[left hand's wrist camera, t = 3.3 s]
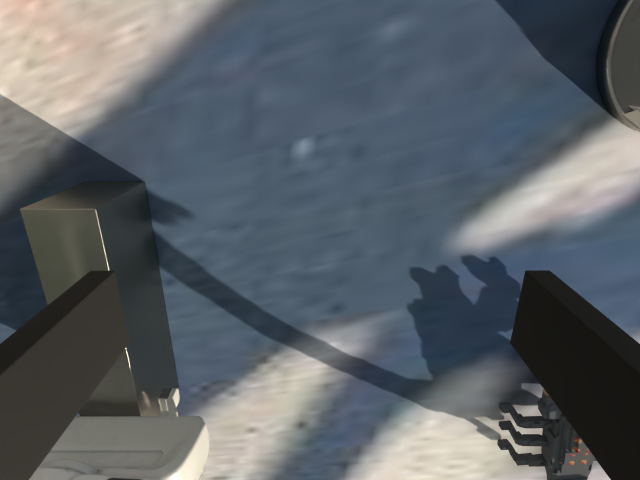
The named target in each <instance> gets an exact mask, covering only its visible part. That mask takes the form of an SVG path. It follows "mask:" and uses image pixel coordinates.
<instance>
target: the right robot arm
mask: <svg viewBox="0 0 640 480" xmlns="http://www.w3.org/2000/svg"><path fill="white" fill-rule="evenodd" d="M158 400H159V404H160V410H161V412H162V414H161V416H76V417H75V418H74V419H73V421H72V422H71V423H70V425H69V426H68V427H67V429H66V430H65V431H64V433H63V434H62V436H61V437H60V438H59V440H58V441H57V442H56V444H55V445H54V446H53V448H52V449H51V451H50V452H49V453H48V455H47V456H46V457H45V459H44V460H43V461H42V463H41V464H40V465H39V467H38V468H37V470H36V471H35V472H34V474H33V475H32V476H31V478H30V479H29V480H199V479H200V476H201V473H202V471H203V468H204V465H205V462H206V459H207V456H208V452H209V445H210V443H209V433H208V428H207V425H206V423H205V422H204V420H203V419H202V418H201V417H199V416H178V413H177V409H176V407H177V405H178V403H179V391H178V388H164V389H163V390H162V393H161V394H160V396H159V398H158Z"/></svg>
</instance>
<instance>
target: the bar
mask: <svg viewBox="0 0 640 480" xmlns="http://www.w3.org/2000/svg"><path fill="white" fill-rule="evenodd" d="M20 212H21V215H22V219H23V222H24V225H25V229H26V232H27V236H28V239H29V243H30V246H31V250H32V253H33V256H34V260H35V263H36V267H37V270H38V274H39V277H40V280H41V284H42V287H43V291H44V294H45V298H46V301H47V305H49V304H50V303H51V302H53V301H54V300H55V299H56V298H58V297H59V296H60V295H61V294H62V293H64V292H65V291H66V290H67V289H69V288H70V287H71V286H72V285H74V284H75V283H76V282H77V281H78V280H80V279H81V278H82V277H83V276H85V275H86V274H87V273H88V272H90V271H115V275H116V280H117V285H118V289H119V294H120V299H121V304H122V308H123V313H124V318H125V323H126V327H127V332H128V337H129V341H130V343H129V344H128V346H127V347H126V349H125V350H124V351H123V353H122V354H121V355H120V357H119V358H118V359H117V361H116V362H115V363H114V365H113V366H112V368H111V369H110V370H109V372H108V373H107V374H106V376H105V377H104V378H103V380H102V381H101V383H100V384H99V385H98V387H97V388H96V389H95V391H94V392H93V393H92V395H91V396H90V397H89V399H88V400H87V402H86V403H85V404H84V406H83V407H82V408H81V410H80V411H79V415H80V416H161V414H162V412H161V410H160V404H159V400H158V398H159V396H160V394H161V393H162V390H163V389H164V388H178V387H179V385H178V379H177V373H176V367H175V361H174V355H173V349H172V343H171V337H170V331H169V325H168V319H167V313H166V307H165V301H164V295H163V289H162V283H161V277H160V270H159V264H158V258H157V252H156V246H155V240H154V234H153V228H152V222H151V216H150V210H149V204H148V198H147V192H146V186H145V182H84V183H81V184H79V185H77V186H74V187H72V188H69V189H67V190H65V191H62V192H60V193H57V194H55V195H53V196H50V197H48V198H45V199H43V200H41V201H38V202H36V203H33V204H31V205H29V206H26V207H24V208H21V209H20Z"/></svg>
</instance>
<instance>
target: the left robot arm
mask: <svg viewBox="0 0 640 480" xmlns="http://www.w3.org/2000/svg"><path fill="white" fill-rule="evenodd" d="M597 80H598V86H599V90H600V93H601V96H602V98H603V101H604V103H605V105H606V106H607V108H608V109H609V111H610V112H611V114H612V115H613V116H614V117H615V118H616V119H617V120H619V121H620V122H621V123H622V124H624V125H626V126H627V127H629V128H631V129H634V130H636V131H640V0H620V2H619V3H618V4H617V6H616V8H615V9H614V11H613V13H612V15H611V17H610V19H609V21H608V23H607V25H606V28H605V30H604V33H603V36H602V39H601V42H600V47H599V51H598V59H597ZM129 343H130V341H129V337H128V332H127V327H126V323H125V318H124V313H123V308H122V304H121V299H120V294H119V289H118V285H117V280H116V275H115V271H90V272H88V273H87V274H86V275H85V276H83V277H82V278H81V279H80V280H78V281H77V282H76V283H75V284H74V285H72V286H71V287H70V288H69V289H67V290H66V291H65V292H64V293H62V294H61V295H60V296H59V297H58V298H56V299H55V300H54V301H53V302H51V303H50V304H49V305H48V306H46V307H45V308H44V309H43V310H42V311H40V312H39V313H38V314H37V315H35V316H34V317H33V318H32V319H31V320H29V321H28V322H27V323H26V324H24V325H23V326H22V327H21V328H19V329H18V330H17V331H16V332H15V333H13V334H12V335H11V336H10V337H8V338H7V339H6V340H5V341H3V342H2V343H1V344H0V480H29V479H30V478H31V476H32V475H33V474H34V472H35V471H36V470H37V468H38V467H39V465H40V464H41V463H42V461H43V460H44V459H45V457H46V456H47V455H48V453H49V452H50V451H51V449H52V448H53V446H54V445H55V444H56V442H57V441H58V440H59V438H60V437H61V436H62V434H63V433H64V431H65V430H66V429H67V427H68V426H69V425H70V423H71V422H72V421H73V419H74V418H75V417H76V415H77V414H78V412H79V411H80V410H81V408H82V407H83V406H84V404H85V403H86V402H87V400H88V399H89V397H90V396H91V395H92V393H93V392H94V391H95V389H96V388H97V387H98V385H99V384H100V383H101V381H102V380H103V378H104V377H105V376H106V374H107V373H108V372H109V370H110V369H111V368H112V366H113V365H114V363H115V362H116V361H117V359H118V358H119V357H120V355H121V354H122V353H123V351H124V350H125V349H126V347H127V346H128V344H129ZM510 343H511V344H512V346H513V347H514V349H515V350H516V351H517V353H518V354H519V355H520V357H521V358H522V359H523V361H524V362H525V363H526V365H527V366H528V368H529V369H530V370H531V372H532V373H533V374H534V376H535V377H536V378H537V380H538V381H539V383H540V384H541V385H542V387H543V388H544V389H545V391H546V392H547V393H548V395H549V396H550V397H551V399H552V400H553V402H554V403H555V404H556V406H557V407H558V408H559V410H560V411H561V412H562V414H563V415H564V417H565V418H566V419H567V421H568V422H569V423H570V425H571V426H572V427H573V429H574V430H575V431H576V433H577V434H578V436H579V437H580V438H581V440H582V441H583V442H584V444H585V445H586V446H587V448H588V449H589V451H590V452H591V453H592V455H593V456H594V457H595V459H596V460H597V461H598V463H599V464H600V465H601V467H602V468H603V470H604V471H605V472H606V474H607V475H608V476H609V478H610V479H611V480H640V344H639V343H638V342H637V341H635V340H634V339H633V338H632V337H630V336H629V335H628V334H627V333H625V332H624V331H623V330H622V329H621V328H619V327H618V326H617V325H616V324H614V323H613V322H612V321H611V320H609V319H608V318H607V317H606V316H605V315H603V314H602V313H601V312H600V311H598V310H597V309H596V308H595V307H594V306H592V305H591V304H590V303H589V302H587V301H586V300H585V299H584V298H582V297H581V296H580V295H579V294H578V293H576V292H575V291H574V290H573V289H571V288H570V287H569V286H568V285H566V284H565V283H564V282H563V281H562V280H560V279H559V278H558V277H557V276H555V275H554V274H553V273H552V272H550V271H525V275H524V280H523V285H522V289H521V294H520V299H519V304H518V308H517V313H516V318H515V323H514V327H513V332H512V337H511V341H510Z"/></svg>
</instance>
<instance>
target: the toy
mask: <svg viewBox="0 0 640 480" xmlns="http://www.w3.org/2000/svg"><path fill="white" fill-rule="evenodd" d="M500 409H501V410H502V411H503V412H504V413H510V414H511V416H512V417H513V419H514V421H515V423H516V424H517V426H519V427H523V428H543V434H542V435H539V434H523V435H522V434H521V433H520V432H519V431H518V432H516V430H515V428H514V426H513V425H512V423H511V421H501V422H499V426H500V428H501V430H509V432H510V434H511V435H512V437H513V439H514V441H515V443H516V444H518V445H522V446H542V450H541V452H542V454H536V455H532V454H531V453H525V454H518V453H516V451H515V450H514V448H513V446H512V445H511V443H510V442H509V441H508V440H507V439H502V440H498V446H499V448H500V449H501V450H509V453H510V455H511V456H512V458H513V460H514V461H516V463H517V465H529V466H545V469H546V473H547V480H587V478H588V475H589V473H590V471H591V467H592V463H593V461H597V460H596V459H595V457H594V456H593V455H592V453H591V452H590V451H589V449H588V448H587V446H586V445H585V444H584V442H583V441H582V440H581V438H580V437H579V436H578V434H577V433H576V431H575V430H574V429H573V427H572V426H571V425H570V423H569V422H568V421H567V419H566V418H565V417H564V415H563V414H562V412H561V411H560V410H559V408H558V407H557V406H556V404H555V403H554V402H553V400H552V399H551V397H550V396H549V395H548V393H547V392H546V391H545V389H543V394H542V398H540V401H538V409H539V411H540V412H541V414H542V416H527V417H523V416H522V415H521V414H518V413H517V412H516V410H515V409H514V407H513V406H512V405H511V404H500Z"/></svg>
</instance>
